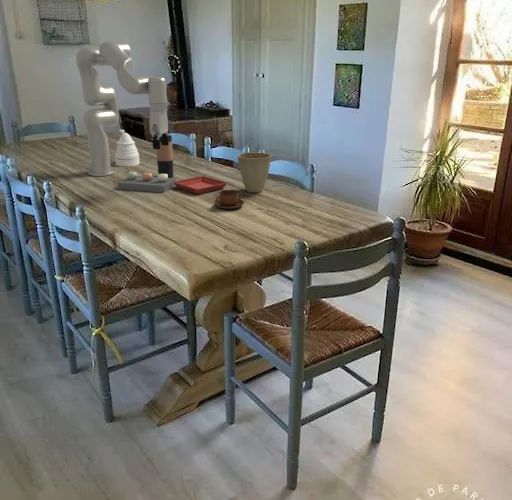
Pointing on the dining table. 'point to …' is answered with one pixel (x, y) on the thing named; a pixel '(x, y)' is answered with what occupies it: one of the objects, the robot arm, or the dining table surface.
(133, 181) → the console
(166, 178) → the cream button
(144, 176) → the terracotta button
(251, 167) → the plant pot
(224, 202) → the cup and saucer
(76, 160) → the dining table surface
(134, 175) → the sage button
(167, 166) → the travel mug
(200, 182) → the plant saucer
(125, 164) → the honey pot
